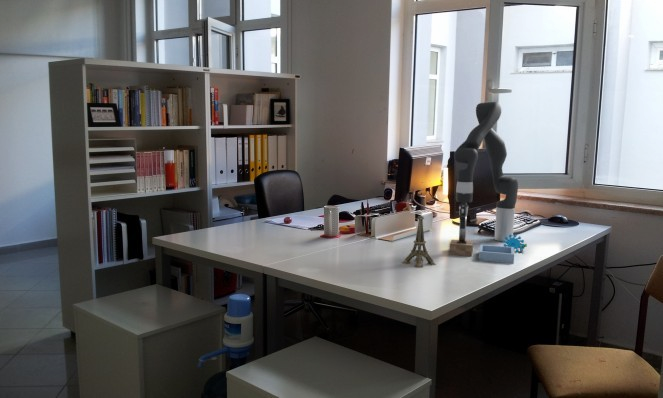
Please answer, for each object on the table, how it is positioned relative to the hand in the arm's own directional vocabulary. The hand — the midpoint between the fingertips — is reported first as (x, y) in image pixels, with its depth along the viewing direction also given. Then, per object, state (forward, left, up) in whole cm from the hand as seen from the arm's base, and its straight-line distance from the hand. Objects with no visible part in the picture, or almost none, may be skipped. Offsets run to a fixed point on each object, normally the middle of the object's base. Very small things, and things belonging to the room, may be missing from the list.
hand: (462, 227), depth 267 cm
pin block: (0, 0, -12) cm, 12 cm away
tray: (+4, +16, -12) cm, 20 cm away
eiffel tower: (+27, -16, -12) cm, 34 cm away
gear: (-14, +24, -12) cm, 30 cm away
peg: (0, 0, -7) cm, 7 cm away
